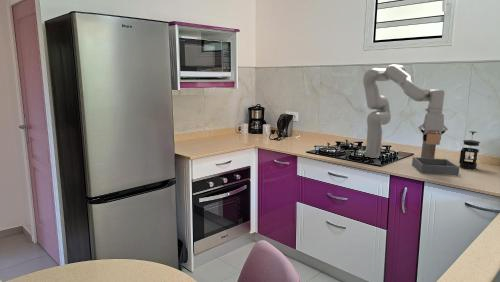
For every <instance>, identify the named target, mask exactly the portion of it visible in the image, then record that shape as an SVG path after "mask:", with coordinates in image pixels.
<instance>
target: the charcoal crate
mask: <svg viewBox="0 0 500 282" xmlns="http://www.w3.org/2000/svg"><path fill="white" fill-rule="evenodd" d="M411 165H412V166H413V167H414V168H415V169H416V170H417V171H418V172H419V173H420V174H426V175H427V174H429V175H431V174H432V175H443V176H457V177H459V174H460V169H461V168H460V167H459V166H458V165H457V164H456V163H453V162H452V161H450V160H449V159H447V158H435V157H434V158H421V157H417V156H416V157H414V156H412V162H411Z"/></svg>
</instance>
